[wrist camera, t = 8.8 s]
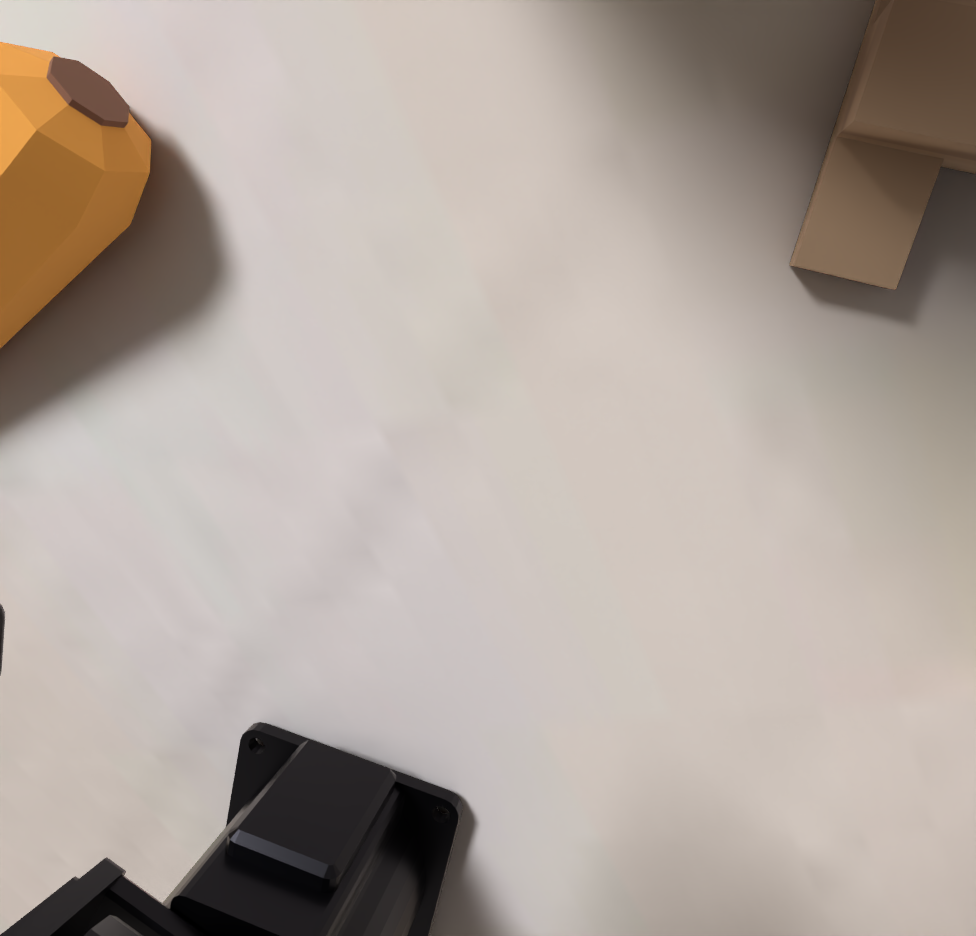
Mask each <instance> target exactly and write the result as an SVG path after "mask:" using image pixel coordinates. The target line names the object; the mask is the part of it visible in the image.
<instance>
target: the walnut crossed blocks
mask: <svg viewBox="0 0 976 936" xmlns="http://www.w3.org/2000/svg"><path fill="white" fill-rule="evenodd" d="M941 167H945V168H950V169H954V170H959V171H964V172H968V173H973V174H976V0H876V1H875V4H874V7H873V10H872V13H871V16H870V19H869V22H868V26H867V29H866V32H865V35H864V38H863V41H862V44H861V47H860V50H859V53H858V56H857V59H856V62H855V65H854V68H853V72H852V75H851V78H850V81H849V84H848V87H847V90H846V93H845V96H844V99H843V102H842V105H841V108H840V111H839V114H838V117H837V121H836V124H835V127H834V130H833V133H832V136H831V139H830V142H829V145H828V148H827V151H826V154H825V157H824V160H823V163H822V167H821V170H820V173H819V176H818V179H817V182H816V185H815V188H814V191H813V194H812V197H811V200H810V203H809V206H808V209H807V213H806V216H805V219H804V222H803V225H802V228H801V231H800V234H799V237H798V240H797V243H796V246H795V249H794V252H793V255H792V258H791V262H790V266H794V267H798V268H803V269H807V270H811V271H815V272H819V273H824V274H828V275H832V276H836V277H840V278H845V279H849V280H853V281H857V282H861V283H866V284H870V285H874V286H878V287H883V288H887V289H893V290H896V288H897V285H898V283H899V280H900V277H901V275H902V272H903V269H904V266H905V264H906V261H907V258H908V255H909V253H910V250H911V247H912V244H913V242H914V239H915V236H916V233H917V231H918V228H919V225H920V223H921V220H922V217H923V214H924V212H925V209H926V206H927V203H928V201H929V198H930V195H931V192H932V190H933V187H934V184H935V182H936V179H937V176H938V173H939V171H940V168H941Z"/></svg>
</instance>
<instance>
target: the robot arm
mask: <svg viewBox="0 0 976 936" xmlns="http://www.w3.org/2000/svg"><path fill="white" fill-rule="evenodd" d="M4 624H5V612H4V609H3V607H2V605H1V604H0V675H1V669H2V655H3V640H4ZM256 738H259V739H260V740H262V742H263V743H264V745H265V746H262V745H260V744H259V743H258V742H257V741H256ZM437 806H441V807H444V808H446V809H447V810H448V812H449V814H445V813H442V812H440V811H439V810H438V808H437ZM461 815H462V803H461V801H460V799H459V798H458V797H457V795H456V794H454V793H453V792H451V791H449V790H446V789H444V788H441V787H438V786H435V785H433V784H430V783H427V782H425V781H422V780H419V779H416V778H414V777H411V776H408V775H405V774H403V773H400V772H397V771H395V770H392V769H389V768H387V767H384V766H382V765H379V764H376V763H373V762H371V761H368V760H365V759H362V758H360V757H357V756H354V755H352V754H349V753H346V752H343V751H341V750H338V749H335V748H332V747H330V746H327V745H324V744H322V743H319V742H316V741H313V740H310V739H307V738H305V737H302V736H299V735H296V734H294V733H291V732H288V731H286V730H283V729H280V728H277V727H275V726H272V725H269V724H267V723H261V722H259V723H255V724H253V725H252V726H251V727H250V728H249V729H248V730H247V731H246V732H245V733H244V734H243V735H242V738H241V740H240V746H239V752H238V758H237V764H236V770H235V776H234V782H233V788H232V794H231V800H230V806H229V812H228V819H227V825H226V828H225V829H224V830H223V831H222V833H221V834H220V835H219V836H218V837H217V839H216V840H215V841H214V842H213V843H212V845H211V846H210V847H209V848H208V849H207V851H206V852H205V853H204V854H203V855H202V857H201V858H200V859H199V860H198V861H197V863H196V864H195V865H194V866H193V867H192V869H191V870H190V871H189V872H188V873H187V875H186V876H185V877H184V878H183V879H182V881H181V882H180V883H179V884H178V885H177V887H176V888H175V889H174V890H173V891H172V893H171V894H170V895H169V896H168V897H167V898H166V900H165V901H164V902H163V903H161V902H160V901H158V900H157V899H156V898H154V897H153V896H151V895H150V894H149V893H147V892H146V891H144V890H143V889H142V888H140V887H139V886H137V885H136V884H135V883H133V882H132V881H130V880H129V879H128V878H126V877H125V876H124V875H125V873H126V871H125V870H124V869H122V868H121V867H119V866H118V865H117V864H115V863H114V862H112V861H111V860H110V859H108V858H105V859H104V860H102V861H101V862H100V863H99V864H97V865H96V866H95V867H94V868H92V869H91V870H90V871H88V872H87V873H86V874H85V875H83V876H82V877H81V878H80V879H78V878H77V877H74V878H72V879H71V880H70V881H68V882H67V883H66V884H65V885H63V886H62V887H61V888H59V889H58V890H57V891H56V892H54V893H53V894H52V895H51V896H49V897H48V898H47V899H45V900H44V901H43V902H42V903H40V904H39V905H38V906H37V907H35V908H34V909H33V910H32V911H30V912H29V913H28V914H26V915H25V916H24V917H23V918H21V919H20V920H19V921H18V922H16V923H15V924H14V925H12V926H11V927H10V928H9V929H7V930H6V931H5V932H4V933H2V934H1V935H0V936H430V932H431V928H432V924H433V921H434V917H435V913H436V909H437V906H438V902H439V898H440V894H441V890H442V887H443V883H444V879H445V875H446V871H447V868H448V864H449V860H450V856H451V853H452V849H453V845H454V841H455V837H456V834H457V830H458V826H459V822H460V818H461Z"/></svg>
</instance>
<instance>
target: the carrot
mask: <svg viewBox="0 0 976 936" xmlns="http://www.w3.org/2000/svg"><path fill="white" fill-rule="evenodd" d="M150 159H151V139H150V138H149V137H148V135H147V134H146V133H145V132H144V131H143V129H142V128H141V127H140V126H139V124H138V123H137V122H136V121H135V119H134V118H133V117H132V116H131V114H130V113H129V106H128V104H127V103H126V102H125V101H124V99H123V98H122V97H121V96H120V95H119V93H118V92H117V91H116V90H115V88H114V87H113V86H112V85H111V83H110V82H109V81H107V80H106V79H104V78H103V77H101V76H100V75H98V74H97V73H95V72H94V71H92V70H91V69H90V68H88V67H87V66H85V65H84V64H82V63H81V62H79V61H76V60H71V59H65V58H61V57H59V56H58V55H56V54H54V53H53V52H49V51H44V50H39V49H34V48H28V47H23V46H18V45H13V44H8V43H3V42H0V348H1V347H2V346H4V345H5V344H6V343H7V342H8V341H9V340H10V339H11V338H12V337H13V336H14V335H15V334H16V333H17V332H18V331H19V330H20V329H21V328H22V327H23V326H25V325H26V324H27V323H28V322H29V321H30V320H31V319H32V318H33V317H34V316H35V315H36V314H37V313H38V312H39V311H40V310H41V309H42V308H43V307H44V306H46V305H47V304H48V303H49V302H50V301H51V300H52V299H53V298H54V297H55V296H56V295H57V294H58V293H59V292H60V291H61V290H62V289H63V288H64V287H65V286H67V285H68V284H69V283H70V282H71V281H72V280H73V279H74V278H75V277H76V276H77V275H78V274H79V273H80V272H81V271H82V270H83V269H84V268H85V267H86V266H88V265H89V264H90V263H91V262H92V261H93V260H94V259H95V258H96V257H97V256H98V255H99V254H100V253H101V252H102V251H103V250H104V249H105V248H106V247H107V246H109V245H110V244H111V243H112V242H113V241H114V240H115V239H116V238H117V237H118V236H119V235H120V234H121V233H122V232H123V231H124V230H125V229H126V228H127V227H128V226H130V225H131V222H132V219H133V217H134V214H135V211H136V209H137V206H138V203H139V201H140V198H141V195H142V193H143V190H144V187H145V184H146V182H147V179H148V176H149V174H150Z"/></svg>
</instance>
